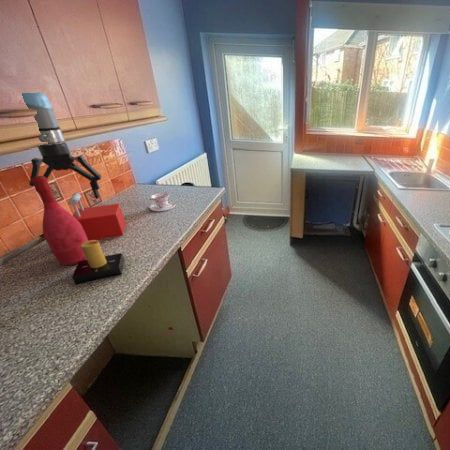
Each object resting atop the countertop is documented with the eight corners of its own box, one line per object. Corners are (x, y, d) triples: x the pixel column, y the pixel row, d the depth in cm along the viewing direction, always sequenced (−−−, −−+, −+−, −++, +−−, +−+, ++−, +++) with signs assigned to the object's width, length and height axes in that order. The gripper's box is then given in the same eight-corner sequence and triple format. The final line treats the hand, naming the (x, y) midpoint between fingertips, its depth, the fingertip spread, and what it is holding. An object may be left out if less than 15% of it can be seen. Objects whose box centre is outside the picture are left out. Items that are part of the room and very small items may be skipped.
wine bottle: (52, 269, 83) (5, 182, 69) (66, 252, 91) (26, 172, 77) (87, 264, 86) (49, 180, 71) (98, 248, 94) (65, 171, 80)
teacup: (171, 200, 136) (168, 190, 133) (179, 207, 128) (176, 196, 126) (146, 206, 129) (143, 194, 126) (153, 214, 121) (150, 202, 118)
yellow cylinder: (88, 269, 79) (78, 247, 75) (91, 262, 82) (82, 240, 78) (105, 266, 80) (96, 244, 76) (107, 258, 84) (99, 237, 80)
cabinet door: (69, 222, 93) (60, 202, 89) (77, 210, 102) (69, 191, 98) (116, 216, 99) (109, 196, 95) (119, 205, 108) (113, 187, 104)
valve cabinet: (82, 242, 97) (73, 222, 93) (88, 228, 107) (80, 210, 102) (123, 235, 103) (116, 216, 99) (125, 223, 112) (119, 205, 108)
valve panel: (75, 284, 77) (71, 277, 75) (82, 268, 84) (78, 260, 82) (121, 274, 82) (118, 267, 80) (124, 259, 89) (121, 252, 87)
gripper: (-5, 147, 77) (28, 209, 87) (93, 143, 88) (113, 198, 98) (6, 143, 83) (36, 201, 93) (97, 139, 93) (116, 192, 103)
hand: (76, 200), depth 95 cm, fingers open, 13 cm apart
